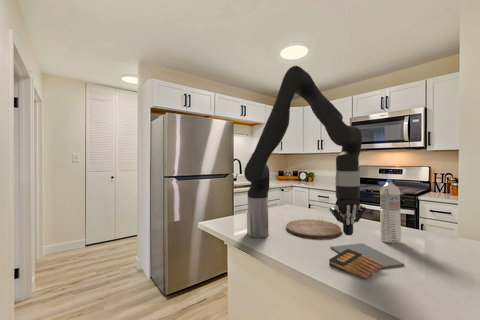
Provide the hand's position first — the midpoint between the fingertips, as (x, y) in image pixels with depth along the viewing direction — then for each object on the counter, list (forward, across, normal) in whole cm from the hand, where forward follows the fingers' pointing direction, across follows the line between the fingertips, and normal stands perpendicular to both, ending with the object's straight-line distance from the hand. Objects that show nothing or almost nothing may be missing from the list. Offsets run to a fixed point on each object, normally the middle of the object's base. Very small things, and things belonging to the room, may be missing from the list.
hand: (348, 234), depth 78 cm
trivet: (+9, +4, +31) cm, 33 cm away
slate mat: (+8, +6, 0) cm, 10 cm away
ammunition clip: (+7, -4, -1) cm, 8 cm away
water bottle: (+8, +26, +9) cm, 29 cm away
